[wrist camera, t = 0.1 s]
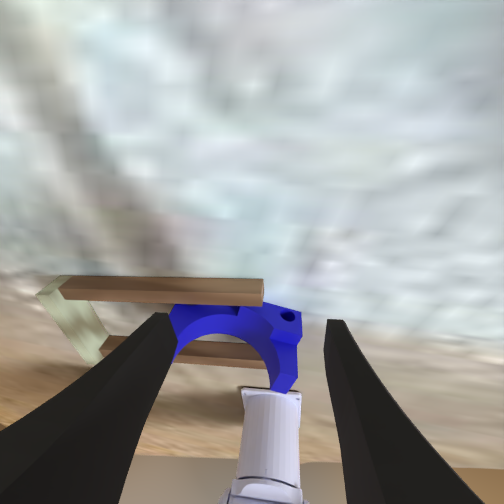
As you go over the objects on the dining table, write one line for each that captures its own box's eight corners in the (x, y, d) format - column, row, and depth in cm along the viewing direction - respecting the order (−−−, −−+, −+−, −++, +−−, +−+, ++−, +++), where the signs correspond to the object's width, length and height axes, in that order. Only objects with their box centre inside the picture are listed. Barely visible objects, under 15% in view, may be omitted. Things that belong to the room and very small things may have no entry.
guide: (268, 353, 28) (266, 378, 25) (103, 342, 31) (86, 364, 28) (263, 279, 22) (260, 302, 19) (60, 275, 25) (35, 295, 23)
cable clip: (301, 311, 24) (304, 367, 19) (286, 338, 26) (286, 394, 21) (184, 278, 23) (155, 327, 18) (180, 309, 26) (155, 359, 21)
